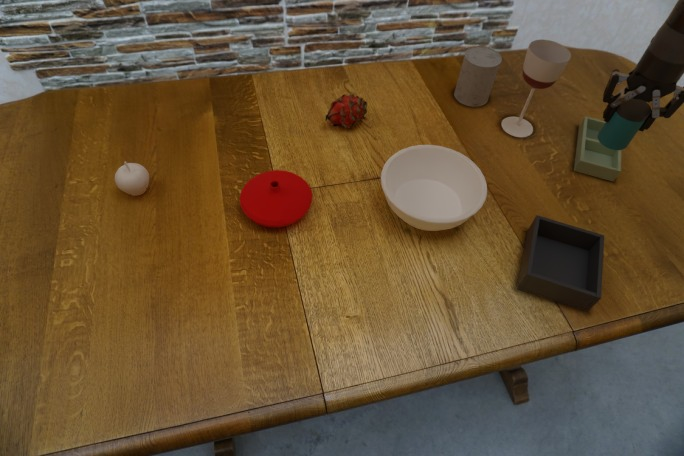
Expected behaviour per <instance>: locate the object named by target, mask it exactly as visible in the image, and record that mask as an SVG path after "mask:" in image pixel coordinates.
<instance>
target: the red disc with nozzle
mask: <svg viewBox="0 0 684 456" xmlns="http://www.w3.org/2000/svg"><path fill="white" fill-rule="evenodd" d="M312 203H313V192H312V188H311V186H310V185H309V183H308V182H307V180H305V178H303V177H302V176H300V175H298V174H297V173H294V172H292V171H288V170H281V169H279V170H278V169H274V170H266V171H264V172H261V173H258V174H257V175H255V176H253V177H252V178H250V179H249V180H248V181H247V182H246V183H245V184H244V186H243V188H242V189H241V191H240V195H239V206H240V208H241V210H242V212H243V213H244V215H245V216H246V217H247V218H249V220H250V221H252V222H254V223H255V224H257V225H259V226H263V227H267V228H282V227H287V226H290V225H292V224H295V223H296V222H298V221H300V220H301V219H303V217H304V216H305V215H306V214H307V213H308V211H309V209H310V207H311V205H312Z"/></svg>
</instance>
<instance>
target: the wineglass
mask: <svg viewBox="0 0 684 456" xmlns="http://www.w3.org/2000/svg"><path fill="white" fill-rule="evenodd" d="M571 58H572V53H571V52H570V50H569V49H568V48H567V47H566V46H565V45H563V44H561V43H559V42H557V41H553V40H549V39H535V40H532V41H531V42H530V43H529V45H528V48H527V50H526V53H525V57H524V61H523V66H522V77H523V79H524V82H525V83H526V84H527V85H528V86H529V87H531V89H530V92H529V94H528V96H527V99H526V101H525V103H524V106H523V108H522V109H521V112H520V115H519V116H513V115H512V116H508V117H505V118H503V119H502V121H501V123H500V124H501V128H502V130H503V131H504V132H505V133H506V134H508V135H510V136H513V137H515V138H528V137H529V136H531V135H532V134H533V133H534V127H533V125H532V124H531V122H530V121H528V120H527V119H526V118H524V116H525V114H526V112H527V109H528V107H529V105H530V102H531V100H532V99H533V95H534V93H535V91H536V90H543V89H544V90H545V89H548V88H550V87H552V86H554V85H555V83H556V82H557V81H558V79H559V78H560V77H561V76H562V75H563V72H564V71H565V69H566V68H567V66H568V64H569V62H570V60H571Z"/></svg>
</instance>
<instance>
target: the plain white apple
mask: <svg viewBox="0 0 684 456" xmlns="http://www.w3.org/2000/svg"><path fill="white" fill-rule="evenodd" d="M114 182H115V185H116V187H117V188H118V189H119V190H120V191H122V192H123V193H126V194H128V195H130V194H131V195H130V196H133V197H138V196H141V195H143V194H145V192H146V191H147V190H148V188H149V184H150V174H149V171H148V169H146V167H145V166H144V165H142V164H140V163H137V162H127V161H123V165H121V166H120V167H118V169H117V170H116V172H115V173H114ZM146 188H147V189H146ZM143 191H144V192H143ZM142 192H143V193H142ZM139 193H141V194H139ZM135 194H137V195H135Z"/></svg>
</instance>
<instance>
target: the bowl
mask: <svg viewBox="0 0 684 456" xmlns="http://www.w3.org/2000/svg"><path fill="white" fill-rule="evenodd" d="M380 183H381V188H382V191H383V194H384V196H385V199H386V202H387V204H388V206H389V208H390V209H391V211H392V212H393V213H394V214H395V215H396V216H397V217H398V218H400V219H401V220H402V221H403V222H404V223H406V224H408V226H411V227H413V228H414V229H417V230H421V231H425V232H438V231H439V232H440V231H444V230H450V229H454V228H456V227H459V226H460V225H462V224H464V223H465V222H467V221H468V220H470V218H472V217H473V216H474V215H476V214H477V213H478V212H479V211H480V209H482V207H483V206H484V204H485V202H486V201H487V195H488V184H487V180H486V177H485V175H484V173H483V172H482V170H481V169H480V168H479V166H478V165H477V164H476V162H474V161H472V160H471V159H470V158H469V157H468V156H466V155H465V154H463V153H462V152H459V151H457V150H455V149H452V148H449V147H445V146H442V145H436V144H418V145H411V146H408V147H404V148H402V149H400V150H398V151H396V152H395V153H394V154H392V155H391V156H390V157H389V158H388V159H387V160H386V162H385V163H384V165H383V167H382V169H381V174H380Z"/></svg>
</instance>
